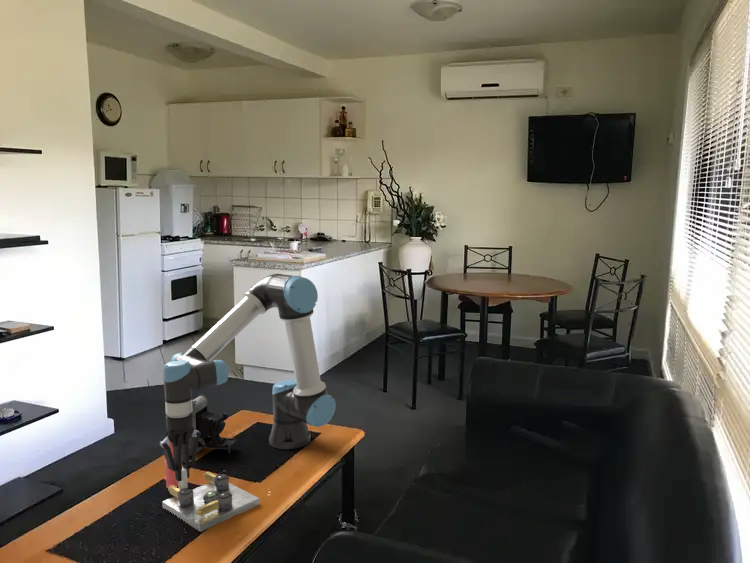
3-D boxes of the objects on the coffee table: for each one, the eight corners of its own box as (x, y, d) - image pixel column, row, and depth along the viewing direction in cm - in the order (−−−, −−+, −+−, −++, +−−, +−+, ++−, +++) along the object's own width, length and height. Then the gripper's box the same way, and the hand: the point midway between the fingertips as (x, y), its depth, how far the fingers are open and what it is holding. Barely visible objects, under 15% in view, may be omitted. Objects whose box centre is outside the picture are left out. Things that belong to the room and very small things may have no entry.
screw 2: (231, 487, 190) (231, 475, 190) (219, 492, 187) (219, 480, 187) (211, 476, 198) (210, 465, 197) (198, 481, 195) (198, 470, 194)
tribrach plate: (220, 484, 198) (220, 471, 197) (259, 504, 184) (258, 491, 184) (162, 507, 183) (161, 494, 182) (200, 531, 170) (199, 517, 169)
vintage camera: (226, 460, 217) (226, 405, 214) (185, 455, 220) (185, 401, 217) (238, 449, 226) (238, 396, 224) (198, 445, 229) (198, 393, 227)
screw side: (226, 501, 182) (226, 489, 181) (235, 506, 179) (234, 493, 178) (192, 516, 173) (191, 503, 173) (201, 521, 171) (200, 508, 170)
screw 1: (196, 502, 181) (196, 490, 181) (183, 508, 178) (182, 495, 178) (176, 490, 189) (175, 478, 188) (163, 495, 186) (162, 483, 185)
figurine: (165, 492, 193) (162, 445, 191) (162, 485, 197) (160, 440, 195) (182, 488, 195) (180, 442, 193) (179, 481, 200) (177, 437, 198)
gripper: (191, 405, 190) (195, 478, 193) (152, 416, 180) (156, 493, 184) (205, 410, 185) (209, 485, 188) (165, 422, 175) (169, 501, 179)
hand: (183, 489), depth 186 cm, fingers closed
